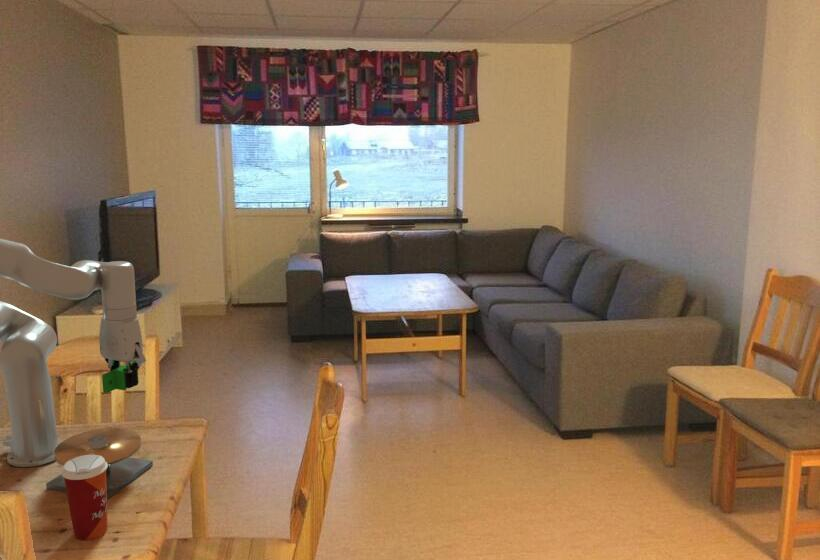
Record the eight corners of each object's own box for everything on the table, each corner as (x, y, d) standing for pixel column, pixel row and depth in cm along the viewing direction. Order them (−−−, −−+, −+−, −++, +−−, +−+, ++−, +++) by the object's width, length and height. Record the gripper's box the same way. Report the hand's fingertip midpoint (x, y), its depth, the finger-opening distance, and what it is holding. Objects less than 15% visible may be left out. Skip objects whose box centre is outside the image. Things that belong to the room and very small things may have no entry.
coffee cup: (112, 539, 137) (105, 469, 134) (65, 547, 134) (58, 475, 131) (114, 517, 145) (108, 450, 141) (70, 524, 142) (63, 456, 139)
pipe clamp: (116, 395, 167) (114, 376, 166) (103, 393, 168) (101, 375, 167) (146, 379, 177) (145, 361, 176) (133, 377, 178) (132, 360, 177)
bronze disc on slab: (39, 490, 155) (34, 450, 153) (94, 454, 172) (91, 418, 170) (108, 502, 150) (105, 461, 148) (158, 464, 167) (156, 427, 165)
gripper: (82, 311, 168) (87, 383, 172) (133, 321, 161) (138, 395, 165) (107, 305, 175) (112, 374, 179) (157, 314, 168) (161, 385, 172)
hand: (124, 384), depth 172 cm, fingers closed on pipe clamp, 4 cm apart
